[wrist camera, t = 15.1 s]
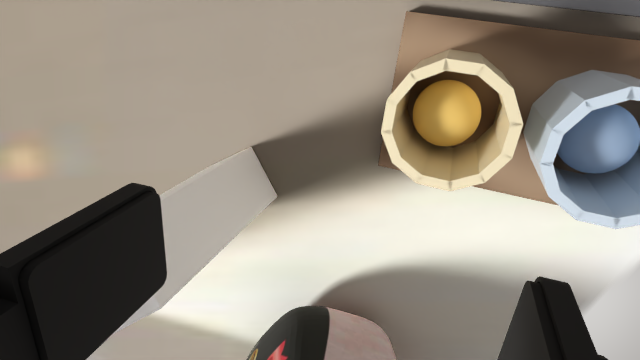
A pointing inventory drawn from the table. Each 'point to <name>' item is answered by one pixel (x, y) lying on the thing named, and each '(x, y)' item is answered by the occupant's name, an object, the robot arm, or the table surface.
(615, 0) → the gray flat board
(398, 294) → the table surface
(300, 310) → the packaged food
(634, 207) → the tube blue
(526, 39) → the tube board
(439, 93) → the ball ochre
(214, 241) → the milk
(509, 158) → the tube
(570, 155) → the ball blue
